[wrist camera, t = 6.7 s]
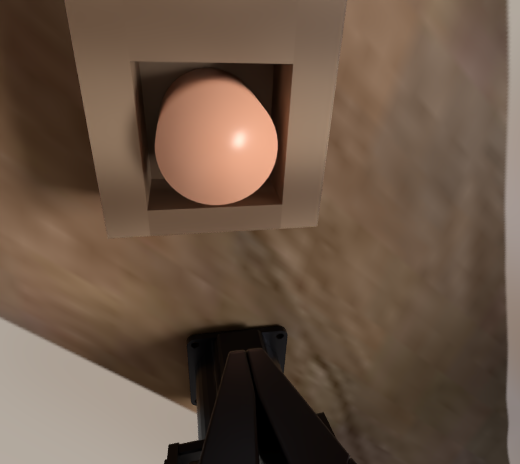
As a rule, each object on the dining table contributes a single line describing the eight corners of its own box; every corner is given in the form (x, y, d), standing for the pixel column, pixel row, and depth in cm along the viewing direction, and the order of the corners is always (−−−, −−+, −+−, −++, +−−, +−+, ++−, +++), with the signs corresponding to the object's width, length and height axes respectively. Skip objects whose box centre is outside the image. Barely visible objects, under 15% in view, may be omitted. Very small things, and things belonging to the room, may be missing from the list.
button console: (294, 189, 21) (317, 226, 18) (119, 196, 20) (107, 238, 16) (336, -254, 13) (391, -340, 10) (42, -303, 12) (-14, -424, 8)
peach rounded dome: (257, 166, 19) (274, 202, 16) (163, 169, 18) (160, 207, 15) (261, 68, 17) (281, 86, 14) (154, 67, 16) (148, 85, 13)
